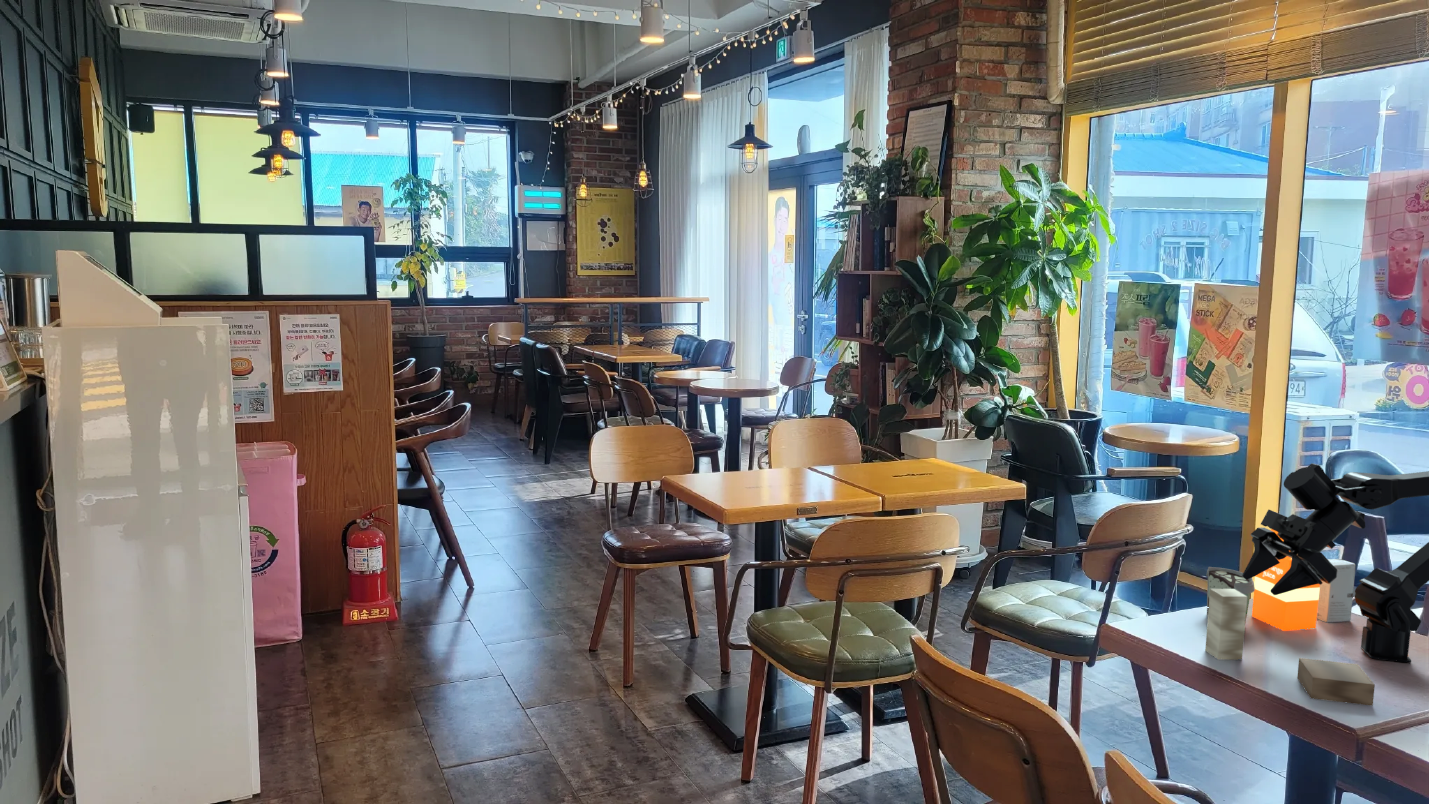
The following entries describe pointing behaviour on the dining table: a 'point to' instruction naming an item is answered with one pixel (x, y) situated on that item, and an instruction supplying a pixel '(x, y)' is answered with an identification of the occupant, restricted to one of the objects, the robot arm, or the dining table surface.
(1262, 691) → the dining table surface
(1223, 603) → the birch pillar
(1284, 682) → the dining table surface
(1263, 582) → the orange juice
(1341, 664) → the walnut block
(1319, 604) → the skincare box
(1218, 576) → the food container
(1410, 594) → the robot arm
